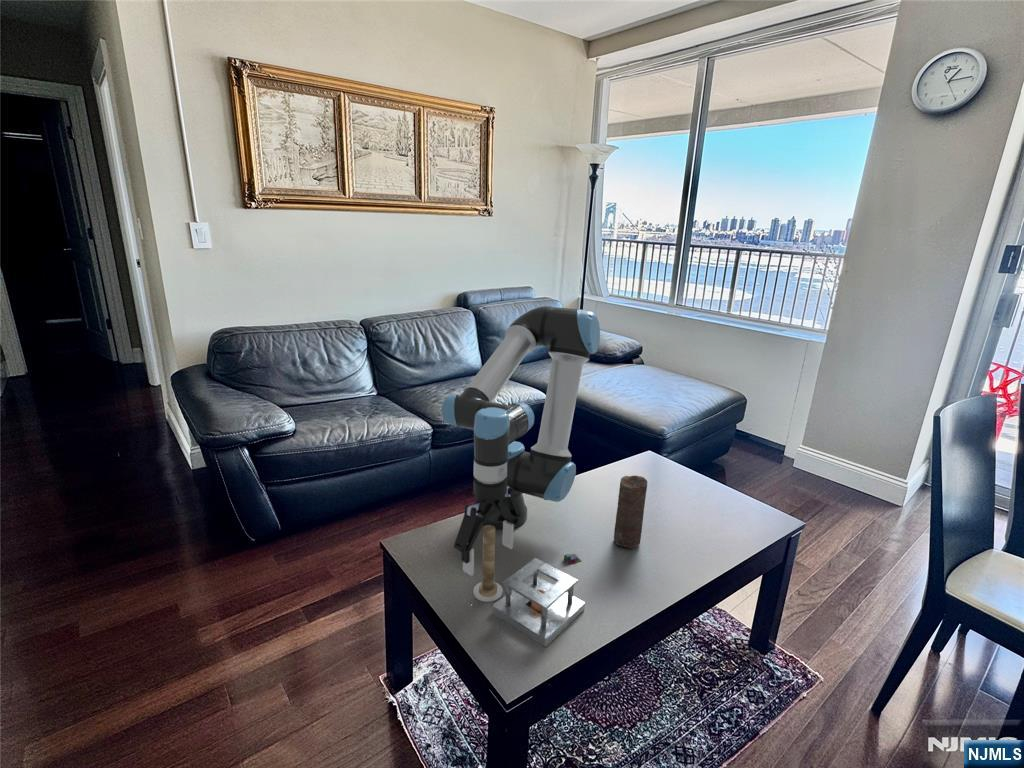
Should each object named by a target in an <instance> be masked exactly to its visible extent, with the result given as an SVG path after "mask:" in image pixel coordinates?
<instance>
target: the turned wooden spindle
mask: <svg viewBox="0 0 1024 768" xmlns="http://www.w3.org/2000/svg"><path fill="white" fill-rule="evenodd" d="M482 529H483V530H482V573H481V574H482V575H481V578H482V579H481V582H482V583H481V582H480V583H481V584H480V585H479V593H480V594H481V595H482V596H485V597H491V596H494V595H495V594H496V593H497V585H496V584H495V583H494V582H495V565H496V564H495V561H496V560H495V556H496V555H495V554H496V529H495V527H494V526H493V525H486V526H485V525H483V526H482Z"/></svg>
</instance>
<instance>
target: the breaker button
mask: <svg viewBox="0 0 1024 768" xmlns="http://www.w3.org/2000/svg"><path fill="white" fill-rule="evenodd" d="M537 591H539V592H541V593H545V591H542V590H537ZM530 608H532V609H533V610H535V611H537V612H538V613H540V614H542V607H540V606H538V605H537V604H535V603H533V602H532V601H531V607H530Z"/></svg>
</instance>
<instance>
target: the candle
mask: <svg viewBox="0 0 1024 768" xmlns="http://www.w3.org/2000/svg"><path fill="white" fill-rule="evenodd" d="M619 483H620V484H619V490H618V499H617V507H616V508H617V510H616V515H615V516H616V517H615V524H614V529H613V530H614V534H613V540H614V542H615V544H617V546H621V547H626V548H629V549H632V548H636V547H639V546H640V545H641V540H642V531H643V530H642V529H643V524H644V523H643V522H644V513H645V506H646V505H645V504H646V498H647V490H648V480H647V478H645V477H644V476H642V475H624V476H623V477H621V479H620V482H619Z"/></svg>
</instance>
